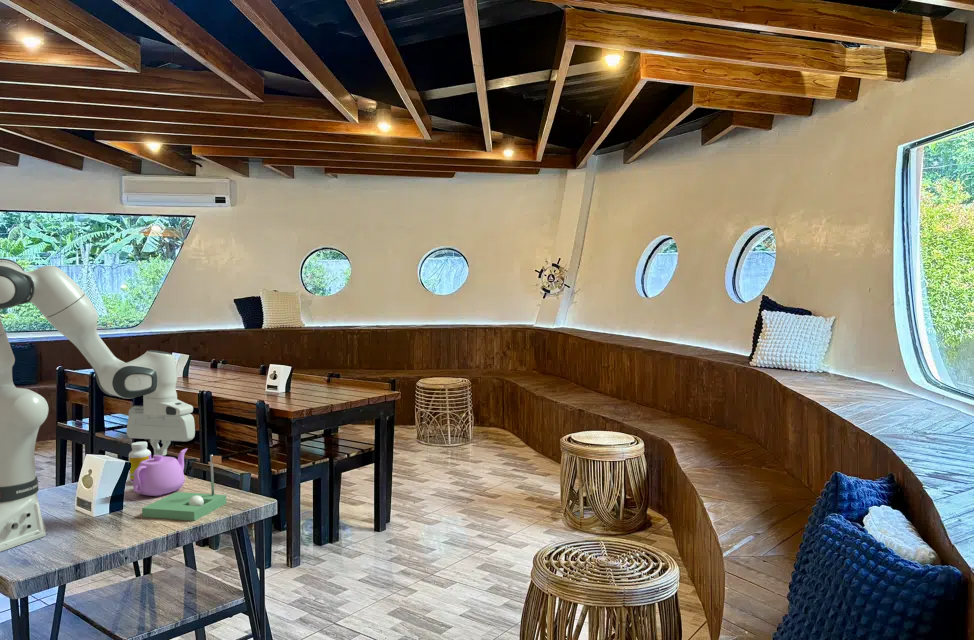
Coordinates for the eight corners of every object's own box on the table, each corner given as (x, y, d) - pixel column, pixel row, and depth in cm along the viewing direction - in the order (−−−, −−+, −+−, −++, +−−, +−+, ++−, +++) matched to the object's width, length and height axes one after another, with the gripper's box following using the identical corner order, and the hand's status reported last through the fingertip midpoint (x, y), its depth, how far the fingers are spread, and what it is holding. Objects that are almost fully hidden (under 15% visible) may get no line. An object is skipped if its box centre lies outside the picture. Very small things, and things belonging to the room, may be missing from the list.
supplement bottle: (153, 482, 238) (151, 443, 237) (130, 486, 234) (128, 446, 233) (151, 477, 243) (149, 439, 242) (129, 481, 240) (127, 442, 239)
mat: (194, 520, 200) (194, 511, 200) (142, 516, 204) (142, 508, 204) (226, 503, 215) (226, 495, 215) (177, 500, 219) (176, 491, 219)
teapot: (150, 503, 217) (148, 463, 216) (120, 497, 223) (117, 459, 222) (203, 484, 235) (201, 448, 234) (173, 479, 241) (172, 444, 240)
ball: (198, 499, 206) (186, 497, 207) (198, 512, 207) (185, 510, 208) (207, 494, 210) (194, 492, 211) (206, 508, 211) (194, 505, 212)
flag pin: (222, 496, 214) (220, 455, 213) (211, 495, 215) (209, 455, 214) (223, 495, 215) (221, 455, 214) (212, 494, 215) (210, 454, 215)
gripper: (121, 406, 209) (121, 455, 209) (184, 410, 204) (184, 459, 204) (136, 403, 215) (136, 450, 215) (198, 406, 210) (198, 454, 211)
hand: (160, 455), depth 210 cm, fingers closed
